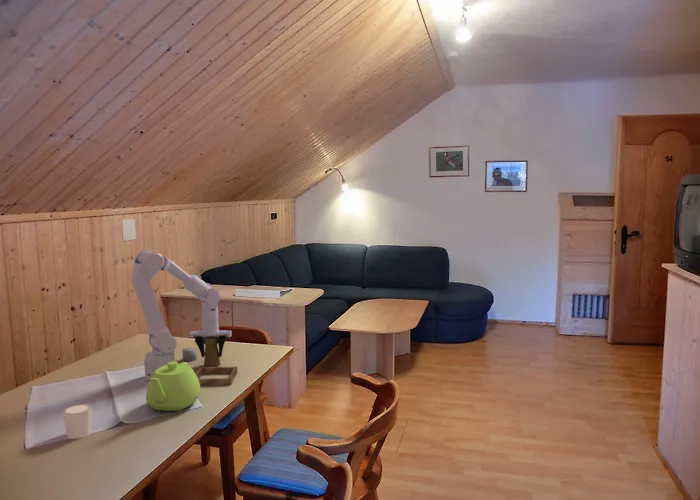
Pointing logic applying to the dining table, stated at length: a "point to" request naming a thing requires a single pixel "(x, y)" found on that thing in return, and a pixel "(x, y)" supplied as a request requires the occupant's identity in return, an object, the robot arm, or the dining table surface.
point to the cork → (211, 352)
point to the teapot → (173, 387)
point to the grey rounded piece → (189, 354)
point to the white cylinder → (78, 421)
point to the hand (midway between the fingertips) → (211, 356)
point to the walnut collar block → (214, 371)
